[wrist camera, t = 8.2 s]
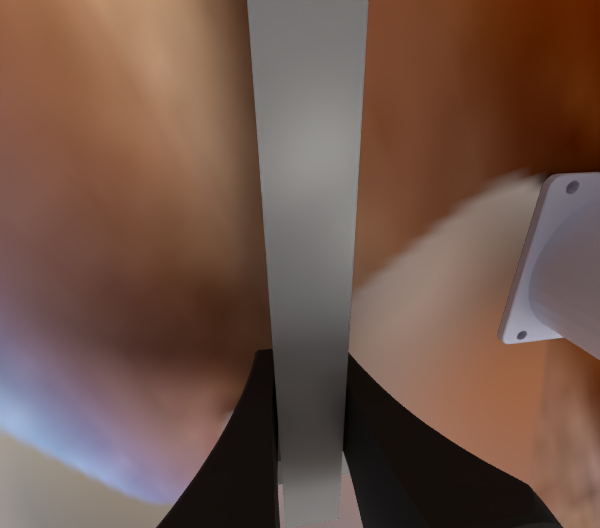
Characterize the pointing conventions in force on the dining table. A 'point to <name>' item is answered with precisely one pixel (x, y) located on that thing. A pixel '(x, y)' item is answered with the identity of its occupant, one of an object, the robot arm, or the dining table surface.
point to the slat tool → (309, 228)
